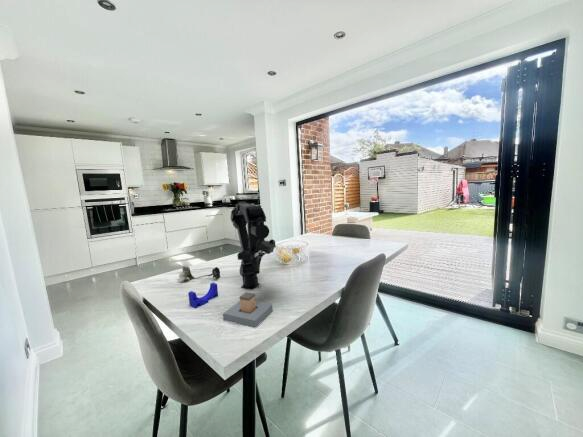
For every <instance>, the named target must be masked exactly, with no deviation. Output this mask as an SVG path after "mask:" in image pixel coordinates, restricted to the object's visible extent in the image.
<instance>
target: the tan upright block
mask: <svg viewBox="0 0 583 437" xmlns="http://www.w3.org/2000/svg"><path fill="white" fill-rule="evenodd" d="M239 301H240V306H241V312H244V313H249V314H250V313H252V312H253V311H254V310H255V309H256V303H255V301H256V293H253V292H247V291H246V292H244V293H242V295H241V294H240V296H239Z"/></svg>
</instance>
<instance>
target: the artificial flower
mask: <svg viewBox="0 0 583 437" xmlns="http://www.w3.org/2000/svg"><path fill="white" fill-rule="evenodd" d="M181 270H182V271H181V272H180V273H179V276H178V279H177V281H176V283H184V282H185V280H186V279H190V280H191V279H192V280H197V279H200V278H203V277H211V276H212V278H214V279H215V280H218V279H220V278H221V271H220V268H219V267H218V266H216V267H214V268H212V271H211V274H205V275H202V276H198V277H194V276H193V275H192V272H191V269H190V266H182V267H181Z"/></svg>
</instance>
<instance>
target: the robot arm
mask: <svg viewBox="0 0 583 437" xmlns="http://www.w3.org/2000/svg"><path fill="white" fill-rule="evenodd" d="M266 216H267V215H266V214H265V211H264V209H263V208H262V206H261V205H258V204H257V205H250V204H248V203H245V202H242V203H236V204H235V207H234V208H233V209H232V210H231V213H230V221H231V223H232V226H233V227H234V228H235V229H236V230H237V234H238V238H239V244H240V248H241V251H239V252H238V253H237V260H239V261H240V260H241V262H240V266H239V270H238V271H239V275H240V276H241V277H242V285H241V288H242V289H247V290H248V289H249V290H253V289H255V288H256V287H258V286H259V285H260V283H259V276H258V275H259V274H260V268H261V261H262V259H263V257H264V256H265V255H270V254H271V253H274V249H275V248H276V241H275V239H270V240H266V238H267V237H269V234H270V229H269V227H268V225H266V224H265V223H266V222H267V217H266Z"/></svg>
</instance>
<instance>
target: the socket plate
mask: <svg viewBox="0 0 583 437" xmlns="http://www.w3.org/2000/svg"><path fill="white" fill-rule="evenodd" d="M255 303H256V309H255V310H254V311H253V312H252V313H250V314H249V313H244V312H241V306H240V300H239V301H237V303H235V304H234V305H232V306H231V307H230V308H229V309H227V310H226V311H224V312H223V313H222V317H223V321H226V320H227V322H230V321H232V322H231V323H234V322H236V324H239V323H240V324H239V325H243V324H244V325H243V326H247V325H248V326H247V327H251V326H253V327H252V328H255V327H256V326H257V325H258V324H259V323H260V322H261V321H262V322H263V321H264V320H265V319H266V318H267V317H268V316H270V314H271V313H273V308H274V307H273V304H271V303H266V302H260V301H256V300H255ZM262 322H261V323H262ZM261 323H260V324H261ZM260 324H259V325H260ZM259 325H258V326H259ZM258 326H257V327H258ZM257 327H256V328H257Z"/></svg>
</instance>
